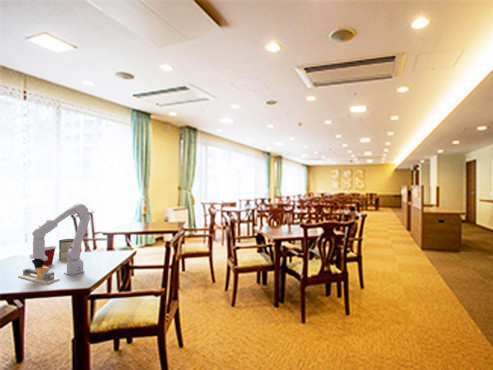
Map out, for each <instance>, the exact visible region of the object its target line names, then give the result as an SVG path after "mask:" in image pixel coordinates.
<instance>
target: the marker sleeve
mask: <svg viewBox="0 0 493 370" xmlns="http://www.w3.org/2000/svg"><path fill="white" fill-rule="evenodd" d="M35 270H36V272H37V278H40V279H43V278H42V273H45V272H50V267H49V266H42V267H39V268H36V269H35Z"/></svg>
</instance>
